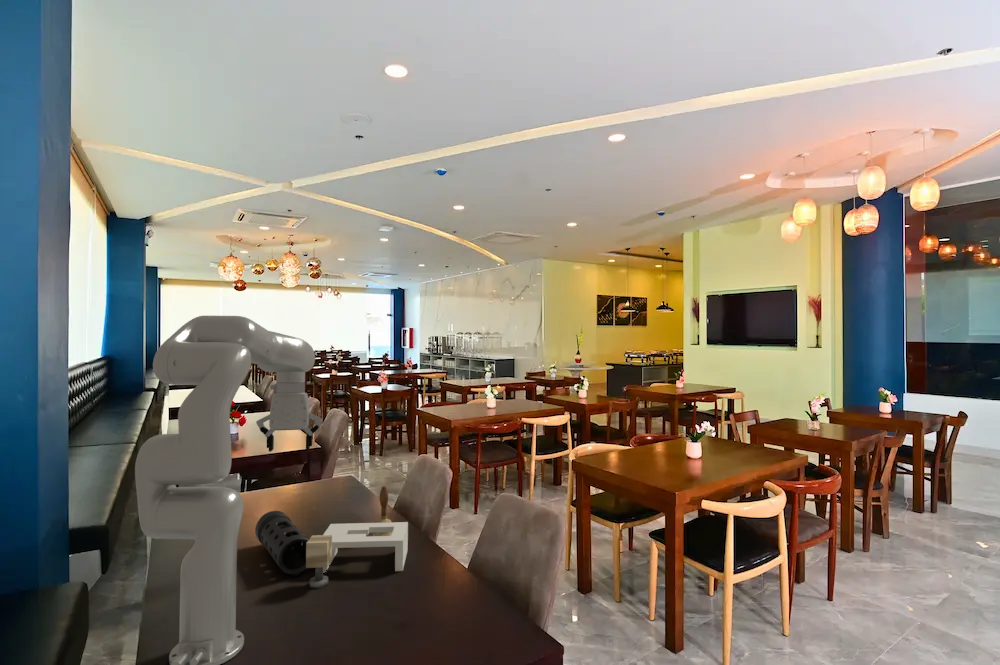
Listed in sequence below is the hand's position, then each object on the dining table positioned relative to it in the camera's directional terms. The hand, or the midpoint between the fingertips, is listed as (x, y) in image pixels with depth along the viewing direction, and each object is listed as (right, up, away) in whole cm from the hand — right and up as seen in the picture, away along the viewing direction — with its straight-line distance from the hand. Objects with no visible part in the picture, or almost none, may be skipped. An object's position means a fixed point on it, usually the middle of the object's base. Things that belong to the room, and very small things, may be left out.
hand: (289, 449), depth 143 cm
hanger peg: (+14, -30, -16) cm, 37 cm away
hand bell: (+23, -31, +14) cm, 41 cm away
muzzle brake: (-1, -31, -1) cm, 31 cm away
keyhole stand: (+22, -30, -2) cm, 37 cm away
